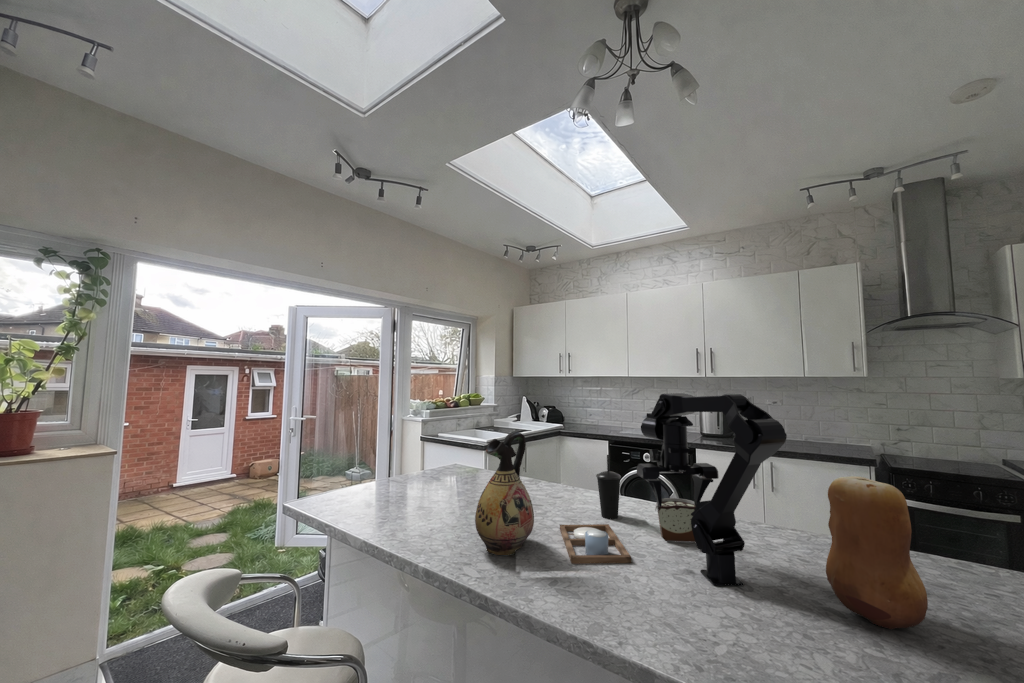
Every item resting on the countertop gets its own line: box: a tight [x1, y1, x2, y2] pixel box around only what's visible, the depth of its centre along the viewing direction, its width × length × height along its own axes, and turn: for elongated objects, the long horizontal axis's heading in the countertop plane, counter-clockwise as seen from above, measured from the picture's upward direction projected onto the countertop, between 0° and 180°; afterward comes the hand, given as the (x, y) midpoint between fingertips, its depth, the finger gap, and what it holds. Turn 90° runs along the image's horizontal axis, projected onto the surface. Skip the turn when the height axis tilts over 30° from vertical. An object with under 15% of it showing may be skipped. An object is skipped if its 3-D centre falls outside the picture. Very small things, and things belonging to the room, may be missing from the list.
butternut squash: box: [825, 475, 929, 630], centre depth 76 cm, size 14×13×25 cm
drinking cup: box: [595, 454, 622, 520], centre depth 130 cm, size 8×8×20 cm
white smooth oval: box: [573, 527, 598, 539], centre depth 113 cm, size 8×8×1 cm
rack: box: [559, 523, 632, 565], centre depth 107 cm, size 22×14×2 cm, turn 0°
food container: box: [654, 497, 696, 543], centre depth 115 cm, size 12×6×10 cm, turn 84°
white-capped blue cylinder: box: [584, 530, 609, 555], centre depth 102 cm, size 6×6×5 cm
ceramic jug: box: [474, 431, 535, 556], centre depth 109 cm, size 17×15×30 cm
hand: (678, 506), depth 103 cm, fingers open, 9 cm apart
